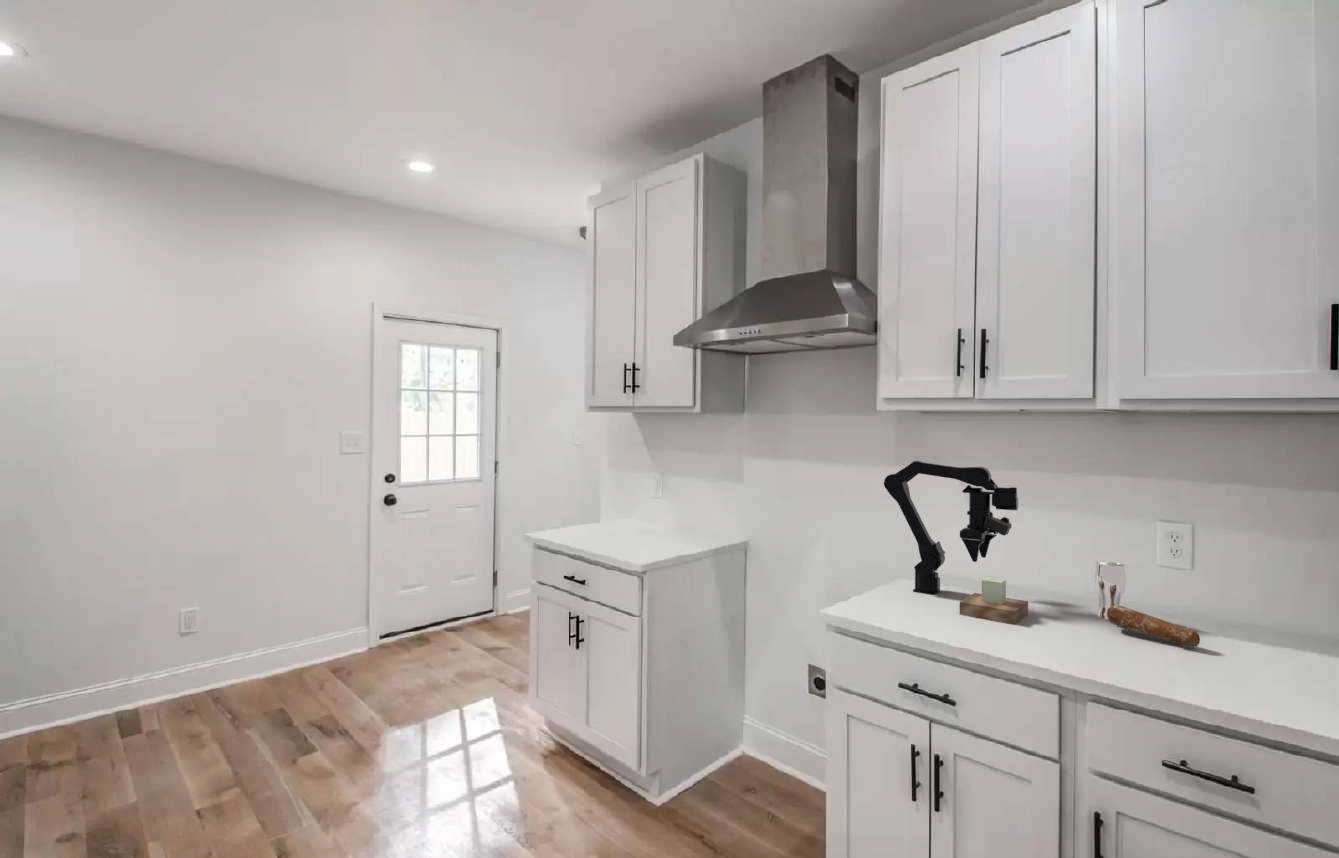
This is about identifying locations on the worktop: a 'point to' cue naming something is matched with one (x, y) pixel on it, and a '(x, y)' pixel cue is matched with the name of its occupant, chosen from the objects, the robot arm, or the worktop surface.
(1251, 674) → the worktop surface
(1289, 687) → the worktop surface
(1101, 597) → the beer glass
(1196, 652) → the worktop surface
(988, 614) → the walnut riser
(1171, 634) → the bread
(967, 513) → the robot arm
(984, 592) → the sage block
